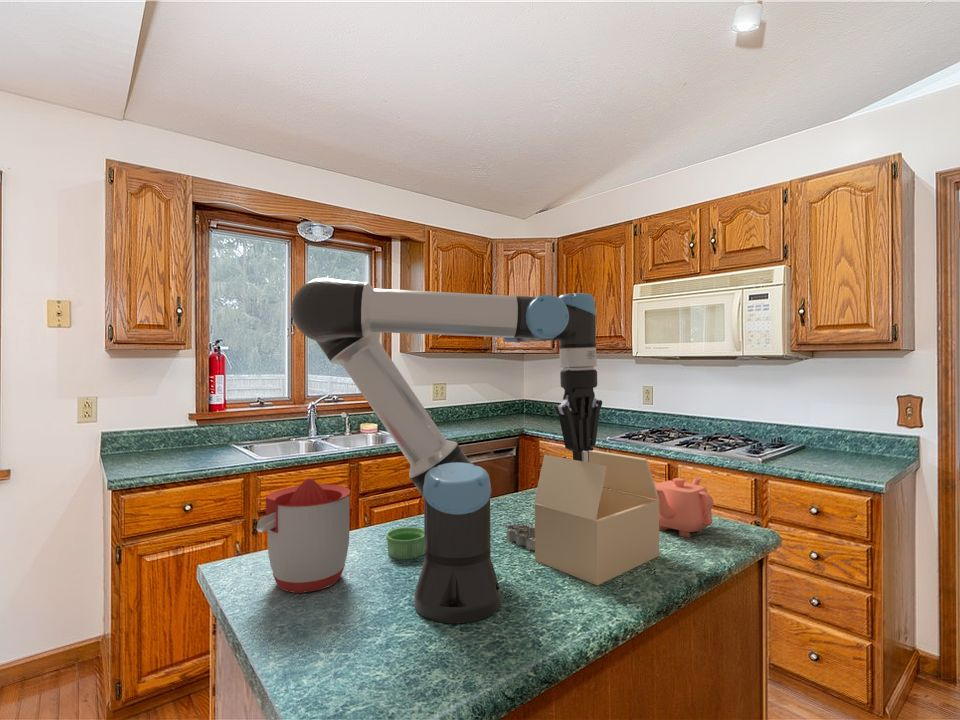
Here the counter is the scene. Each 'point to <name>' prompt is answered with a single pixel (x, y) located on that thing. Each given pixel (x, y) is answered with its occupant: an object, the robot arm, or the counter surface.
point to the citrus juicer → (307, 535)
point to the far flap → (626, 473)
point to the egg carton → (521, 535)
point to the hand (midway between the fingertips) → (581, 481)
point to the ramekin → (405, 542)
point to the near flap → (570, 486)
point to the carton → (599, 537)
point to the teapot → (683, 506)
